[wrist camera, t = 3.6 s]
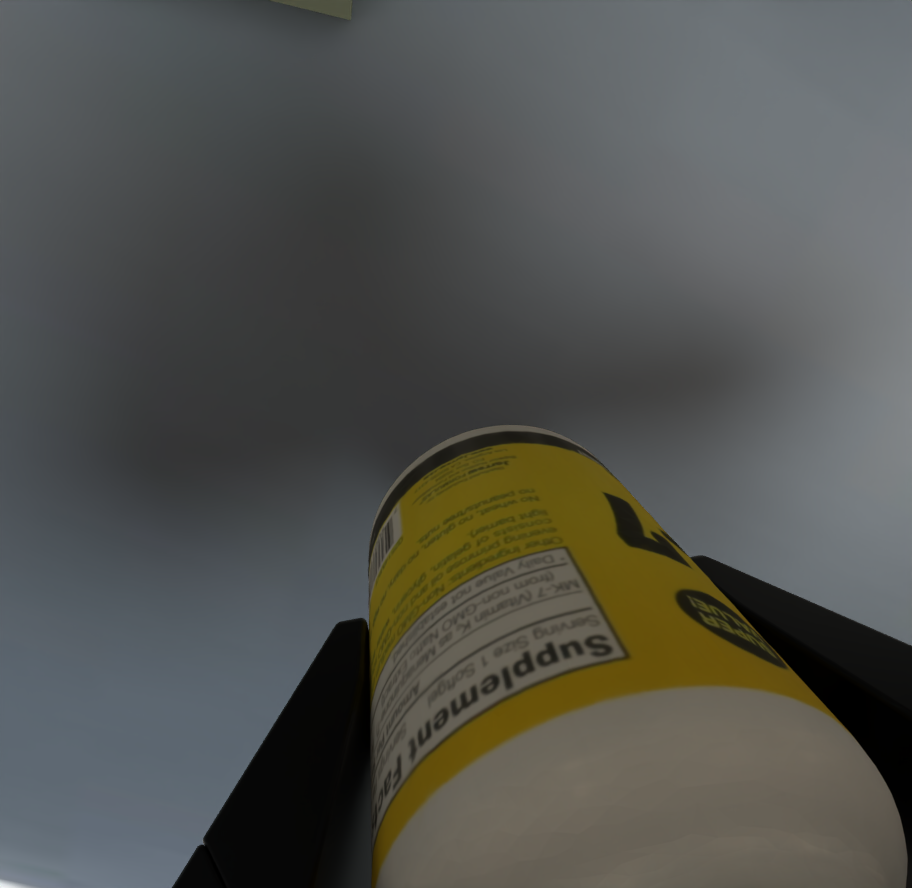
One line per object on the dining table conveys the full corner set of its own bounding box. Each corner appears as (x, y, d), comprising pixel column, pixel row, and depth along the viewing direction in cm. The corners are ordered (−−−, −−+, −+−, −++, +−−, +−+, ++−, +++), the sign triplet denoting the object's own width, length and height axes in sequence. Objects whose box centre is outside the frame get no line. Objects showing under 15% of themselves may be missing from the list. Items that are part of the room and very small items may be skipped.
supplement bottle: (655, 558, 11) (1278, 1326, 4) (455, 673, 12) (628, 1578, 4) (549, 363, 9) (1442, 1141, 2) (312, 509, 10) (118, 1684, 2)
